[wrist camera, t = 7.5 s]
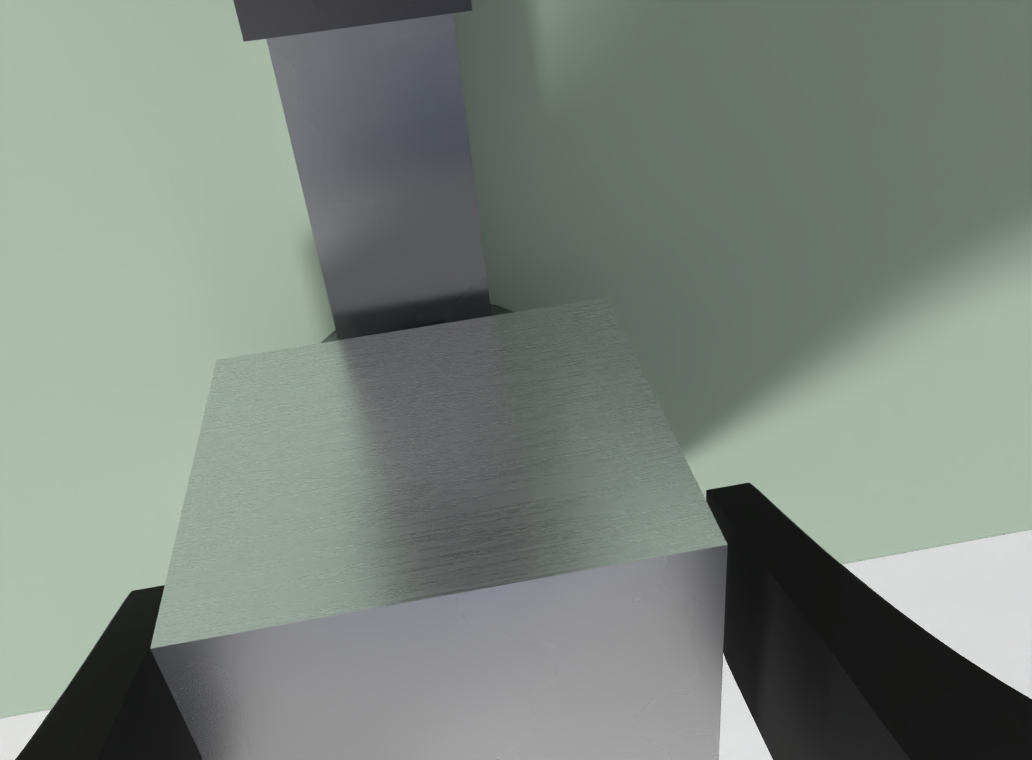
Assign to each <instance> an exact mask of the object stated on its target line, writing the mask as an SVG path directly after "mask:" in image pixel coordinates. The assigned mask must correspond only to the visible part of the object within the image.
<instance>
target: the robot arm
mask: <svg viewBox="0 0 1032 760" xmlns="http://www.w3.org/2000/svg"><path fill="white" fill-rule="evenodd" d="M706 502H707V504H708V506H709V508H710V510H711V512H712V514H713V516H714V518H715V520H716V522H717V524H718V526H719V528H720V530H721V532H722V534H723V536H724V538H725V540H726V542H727V544H728V546H727V570H726V594H725V618H724V642H723V653H724V656H725V658H726V661H727V663H728V666H729V668H730V670H731V672H732V674H733V676H734V679H735V681H736V683H737V685H738V687H739V689H740V691H741V693H742V695H743V698H744V700H745V702H746V704H747V706H748V708H749V710H750V712H751V714H752V717H753V719H754V721H755V723H756V725H757V727H758V729H759V731H760V733H761V735H762V737H763V739H764V742H765V744H766V746H767V748H768V750H769V752H770V754H771V756H772V758H773V760H1032V699H1030V698H1028V697H1027V696H1025V695H1023V694H1022V693H1020V692H1018V691H1017V690H1015V689H1013V688H1012V687H1010V686H1008V685H1007V684H1005V683H1003V682H1002V681H1000V680H998V679H997V678H995V677H994V676H992V675H991V674H989V673H988V672H986V671H984V670H983V669H981V668H980V667H978V666H977V665H975V664H974V663H972V662H970V661H969V660H967V659H966V658H964V657H963V656H961V655H960V654H958V653H957V652H955V651H954V650H952V649H951V648H950V647H948V646H947V645H945V644H944V643H942V642H941V641H939V640H938V639H937V638H935V637H934V636H932V635H931V634H930V633H928V632H927V631H925V630H924V629H923V628H921V627H920V626H919V625H917V624H916V623H915V622H913V621H912V620H911V619H909V618H908V617H907V616H905V615H904V614H903V613H901V612H900V611H899V610H897V609H896V608H895V607H893V606H892V605H891V604H890V603H888V602H887V601H886V600H884V599H883V598H882V597H881V596H879V595H878V594H877V593H876V592H874V591H873V590H872V589H871V588H869V587H868V586H867V585H866V584H865V583H863V582H862V581H861V580H860V579H859V578H857V577H856V576H855V575H854V574H853V573H851V572H850V571H849V570H848V569H846V568H845V567H844V566H843V565H842V564H840V563H839V562H838V561H837V560H836V559H834V558H833V557H832V556H831V555H830V554H829V553H828V552H826V551H825V550H824V549H823V548H822V547H821V546H819V545H818V544H817V543H816V542H815V541H814V540H813V539H812V538H811V537H809V536H808V535H807V534H806V533H805V532H804V531H803V530H802V529H800V528H799V527H798V526H797V525H796V524H795V523H794V522H793V521H792V520H791V519H789V518H788V517H787V516H786V515H785V514H784V513H783V512H782V511H781V510H780V509H779V508H778V507H776V506H775V505H774V504H773V503H772V502H771V501H770V500H769V499H768V498H767V497H766V496H765V495H764V494H762V493H761V492H760V491H759V490H758V489H757V488H756V487H755V486H753V485H752V484H751V483H743V484H738V485H732V486H726V487H721V488H715V489H709V490H706ZM164 586H165V585H162V586H157V587H151V588H145V589H139V590H134V591H131V592H130V594H129V595H128V596H127V598H126V599H125V600H124V602H123V603H122V605H121V606H120V608H119V609H118V611H117V612H116V614H115V615H114V617H113V618H112V620H111V621H110V623H109V624H108V626H107V628H106V629H105V631H104V632H103V634H102V635H101V637H100V638H99V640H98V641H97V643H96V644H95V646H94V647H93V649H92V650H91V652H90V653H89V655H88V656H87V658H86V659H85V661H84V662H83V664H82V665H81V667H80V668H79V670H78V671H77V673H76V674H75V676H74V677H73V679H72V680H71V682H70V683H69V685H68V686H67V688H66V689H65V691H64V692H63V694H62V695H61V696H60V698H59V699H58V701H57V702H56V704H55V705H54V706H53V708H52V709H51V711H50V712H49V714H48V715H47V717H46V718H45V719H44V721H43V722H42V724H41V725H40V727H39V728H38V729H37V731H36V732H35V734H34V735H33V736H32V738H31V739H30V741H29V742H28V743H27V745H26V746H25V748H24V749H23V750H22V751H21V753H20V754H19V755H18V757H17V758H16V759H15V760H203V758H202V756H201V754H200V752H199V750H198V748H197V746H196V744H195V742H194V739H193V737H192V735H191V733H190V731H189V729H188V727H187V725H186V723H185V721H184V718H183V716H182V714H181V712H180V710H179V708H178V706H177V704H176V702H175V700H174V698H173V695H172V693H171V691H170V689H169V687H168V685H167V683H166V681H165V679H164V677H163V674H162V672H161V670H160V668H159V666H158V664H157V662H156V660H155V658H154V656H153V653H152V651H151V649H150V648H151V643H152V639H153V634H154V630H155V626H156V621H157V617H158V613H159V608H160V604H161V599H162V595H163V591H164Z"/></svg>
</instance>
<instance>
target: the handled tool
mask: <svg viewBox="0 0 1032 760" xmlns="http://www.w3.org/2000/svg"><path fill="white" fill-rule="evenodd" d="M233 1H234V5H235V9H236V13H237V17H238V21H239V25H240V29H241V33H242V37H243V41H244V42H246V41H253V40H261V39H266V40H267V44H268V49H269V53H270V57H271V61H272V65H273V70H274V74H275V78H276V82H277V86H278V90H279V95H280V99H281V103H282V107H283V111H284V115H285V120H286V124H287V128H288V132H289V136H290V141H291V145H292V149H293V153H294V157H295V161H296V166H297V170H298V174H299V178H300V182H301V187H302V191H303V195H304V199H305V203H306V207H307V212H308V216H309V220H310V224H311V228H312V232H313V237H314V241H315V245H316V249H317V253H318V258H319V262H320V266H321V270H322V274H323V278H324V283H325V287H326V291H327V295H328V299H329V304H330V308H331V312H332V316H333V320H334V324H335V329H336V330H335V331H334V332H332V333H331V334H330V335H329V336H328V337H327V338H325V339H324V340H323V341H322V342H321V343H325V342H331V341H337V340H344V339H350V338H356V337H362V336H369V335H375V334H381V333H387V332H394V331H400V330H406V329H413V328H419V327H425V326H431V325H438V324H444V323H450V322H456V321H463V320H469V319H475V318H481V317H488V316H494V315H500V314H506V313H513V311H510V310H508V309H505V308H503V307H500V306H498V305H494V304H490V298H489V290H488V282H487V275H486V267H485V259H484V251H483V243H482V236H481V228H480V220H479V212H478V205H477V197H476V189H475V181H474V173H473V166H472V158H471V150H470V142H469V135H468V127H467V119H466V111H465V103H464V96H463V88H462V80H461V72H460V65H459V57H458V49H457V41H456V33H455V26H454V18H453V13H459V12H467V11H472V3H471V0H233Z"/></svg>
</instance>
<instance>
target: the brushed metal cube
mask: <svg viewBox="0 0 1032 760" xmlns="http://www.w3.org/2000/svg"><path fill="white" fill-rule="evenodd" d="M727 546H728V544H727V542H726V540H725V538H724V536H723V534H722V532H721V530H720V528H719V526H718V524H717V522H716V520H715V518H714V516H713V514H712V512H711V510H710V508H709V506H708V504H707V502H706V499H705V497H704V495H703V493H702V491H701V489H700V487H699V485H698V483H697V481H696V479H695V477H694V475H693V473H692V471H691V469H690V467H689V465H688V463H687V461H686V459H685V457H684V454H683V452H682V450H681V448H680V446H679V444H678V442H677V440H676V438H675V436H674V434H673V432H672V430H671V428H670V426H669V424H668V422H667V420H666V418H665V416H664V414H663V412H662V409H661V407H660V405H659V403H658V401H657V399H656V397H655V395H654V393H653V391H652V389H651V387H650V385H649V383H648V381H647V379H646V377H645V375H644V373H643V371H642V369H641V366H640V364H639V362H638V360H637V358H636V356H635V354H634V352H633V350H632V348H631V346H630V344H629V342H628V340H627V338H626V336H625V334H624V332H623V330H622V328H621V326H620V324H619V321H618V319H617V317H616V315H615V313H614V311H613V309H612V307H611V305H610V303H609V301H608V299H607V298H600V299H594V300H588V301H582V302H575V303H569V304H563V305H557V306H550V307H544V308H538V309H531V310H525V311H519V312H513V313H506V314H500V315H494V316H488V317H481V318H475V319H469V320H463V321H456V322H450V323H444V324H438V325H431V326H425V327H419V328H413V329H406V330H400V331H394V332H387V333H381V334H375V335H369V336H362V337H356V338H350V339H344V340H337V341H331V342H325V343H319V344H312V345H306V346H300V347H294V348H287V349H281V350H275V351H269V352H262V353H256V354H250V355H243V356H237V357H231V358H225V359H218V360H216V364H215V368H214V372H213V377H212V381H211V385H210V390H209V394H208V399H207V403H206V407H205V412H204V416H203V420H202V425H201V429H200V434H199V438H198V442H197V447H196V451H195V455H194V460H193V464H192V468H191V473H190V477H189V482H188V486H187V490H186V495H185V499H184V503H183V508H182V512H181V516H180V521H179V525H178V530H177V534H176V538H175V543H174V547H173V551H172V556H171V560H170V565H169V569H168V573H167V578H166V582H165V586H164V591H163V595H162V599H161V604H160V608H159V613H158V617H157V621H156V626H155V630H154V634H153V639H152V643H151V648H150V649H151V651H152V653H153V656H154V658H155V660H156V662H157V664H158V666H159V668H160V670H161V672H162V674H163V677H164V679H165V681H166V683H167V685H168V687H169V689H170V691H171V693H172V695H173V698H174V700H175V702H176V704H177V706H178V708H179V710H180V712H181V714H182V716H183V718H184V721H185V723H186V725H187V727H188V729H189V731H190V733H191V735H192V737H193V739H194V742H195V744H196V746H197V748H198V750H199V752H200V754H201V756H202V758H203V760H719V738H720V714H721V690H722V666H723V642H724V618H725V594H726V570H727Z"/></svg>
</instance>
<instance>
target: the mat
mask: <svg viewBox="0 0 1032 760" xmlns="http://www.w3.org/2000/svg"><path fill="white" fill-rule="evenodd" d="M471 3H472V11H467V12H459V13H453V18H454V26H455V33H456V41H457V49H458V57H459V65H460V72H461V80H462V88H463V96H464V103H465V111H466V119H467V127H468V135H469V142H470V150H471V158H472V166H473V173H474V181H475V189H476V197H477V205H478V212H479V220H480V228H481V236H482V243H483V251H484V259H485V267H486V275H487V282H488V290H489V298H490V304H494V305H498V306H500V307H503V308H505V309H508V310H510V311H513V312H519V311H525V310H531V309H538V308H544V307H550V306H557V305H563V304H569V303H575V302H582V301H588V300H594V299H600V298H607V299H608V301H609V303H610V305H611V307H612V309H613V311H614V313H615V315H616V317H617V319H618V321H619V324H620V326H621V328H622V330H623V332H624V334H625V336H626V338H627V340H628V342H629V344H630V346H631V348H632V350H633V352H634V354H635V356H636V358H637V360H638V362H639V364H640V366H641V369H642V371H643V373H644V375H645V377H646V379H647V381H648V383H649V385H650V387H651V389H652V391H653V393H654V395H655V397H656V399H657V401H658V403H659V405H660V407H661V409H662V412H663V414H664V416H665V418H666V420H667V422H668V424H669V426H670V428H671V430H672V432H673V434H674V436H675V438H676V440H677V442H678V444H679V446H680V448H681V450H682V452H683V454H684V457H685V459H686V461H687V463H688V465H689V467H690V469H691V471H692V473H693V475H694V477H695V479H696V481H697V483H698V485H699V487H700V489H701V491H702V493H703V495H704V497H705V499H706V490H709V489H715V488H721V487H726V486H732V485H738V484H743V483H751V484H752V485H753V486H755V487H756V488H757V489H758V490H759V491H760V492H761V493H762V494H764V495H765V496H766V497H767V498H768V499H769V500H770V501H771V502H772V503H773V504H774V505H775V506H776V507H778V508H779V509H780V510H781V511H782V512H783V513H784V514H785V515H786V516H787V517H788V518H789V519H791V520H792V521H793V522H794V523H795V524H796V525H797V526H798V527H799V528H800V529H802V530H803V531H804V532H805V533H806V534H807V535H808V536H809V537H811V538H812V539H813V540H814V541H815V542H816V543H817V544H818V545H819V546H821V547H822V548H823V549H824V550H825V551H826V552H828V553H829V554H830V555H831V556H832V557H833V558H834V559H836V560H837V561H838V562H839V563H840V564H847V563H852V562H857V561H863V560H868V559H874V558H879V557H885V556H890V555H896V554H901V553H907V552H912V551H917V550H923V549H928V548H934V547H939V546H945V545H950V544H956V543H961V542H967V541H972V540H978V539H983V538H988V537H994V536H999V535H1005V534H1010V533H1016V532H1021V531H1027V530H1032V0H471ZM335 330H336V329H335V324H334V320H333V316H332V312H331V308H330V304H329V299H328V295H327V291H326V287H325V283H324V278H323V274H322V270H321V266H320V262H319V258H318V253H317V249H316V245H315V241H314V237H313V232H312V228H311V224H310V220H309V216H308V212H307V207H306V203H305V199H304V195H303V191H302V187H301V182H300V178H299V174H298V170H297V166H296V161H295V157H294V153H293V149H292V145H291V141H290V136H289V132H288V128H287V124H286V120H285V115H284V111H283V107H282V103H281V99H280V95H279V90H278V86H277V82H276V78H275V74H274V70H273V65H272V61H271V57H270V53H269V49H268V44H267V40H266V39H261V40H253V41H246V42H244V41H243V37H242V33H241V29H240V25H239V21H238V17H237V13H236V9H235V5H234V1H233V0H0V718H6V717H11V716H17V715H22V714H28V713H33V712H39V711H44V710H50V709H52V708H53V706H54V705H55V704H56V702H57V701H58V699H59V698H60V696H61V695H62V694H63V692H64V691H65V689H66V688H67V686H68V685H69V683H70V682H71V680H72V679H73V677H74V676H75V674H76V673H77V671H78V670H79V668H80V667H81V665H82V664H83V662H84V661H85V659H86V658H87V656H88V655H89V653H90V652H91V650H92V649H93V647H94V646H95V644H96V643H97V641H98V640H99V638H100V637H101V635H102V634H103V632H104V631H105V629H106V628H107V626H108V624H109V623H110V621H111V620H112V618H113V617H114V615H115V614H116V612H117V611H118V609H119V608H120V606H121V605H122V603H123V602H124V600H125V599H126V598H127V596H128V595H129V594H130V592H131V591H134V590H139V589H145V588H151V587H157V586H162V585H165V582H166V578H167V573H168V569H169V565H170V560H171V556H172V551H173V547H174V543H175V538H176V534H177V530H178V525H179V521H180V516H181V512H182V508H183V503H184V499H185V495H186V490H187V486H188V482H189V477H190V473H191V468H192V464H193V460H194V455H195V451H196V447H197V442H198V438H199V434H200V429H201V425H202V420H203V416H204V412H205V407H206V403H207V399H208V394H209V390H210V385H211V381H212V377H213V372H214V368H215V364H216V360H218V359H225V358H231V357H237V356H243V355H250V354H256V353H262V352H269V351H275V350H281V349H287V348H294V347H300V346H306V345H312V344H319V343H321V342H322V341H323V340H324V339H325V338H327V337H328V336H329V335H330V334H331V333H332V332H334V331H335Z"/></svg>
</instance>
